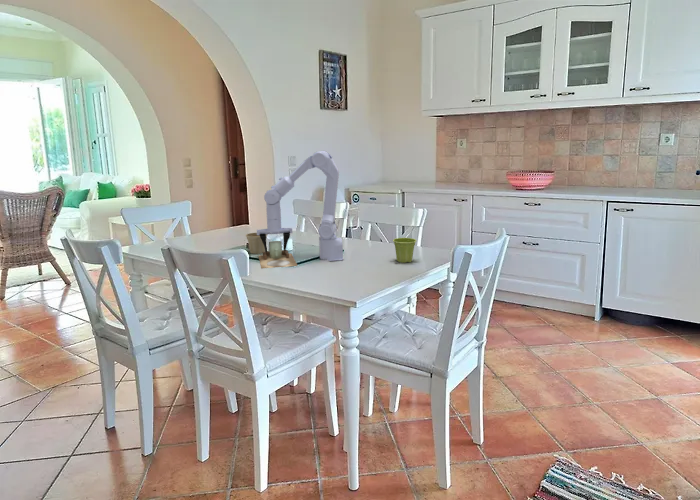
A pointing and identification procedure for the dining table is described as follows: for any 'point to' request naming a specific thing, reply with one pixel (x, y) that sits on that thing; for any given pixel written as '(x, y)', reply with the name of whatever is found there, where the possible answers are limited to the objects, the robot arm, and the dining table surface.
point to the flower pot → (255, 243)
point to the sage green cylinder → (275, 249)
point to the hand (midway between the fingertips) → (275, 251)
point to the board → (277, 260)
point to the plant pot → (404, 249)
